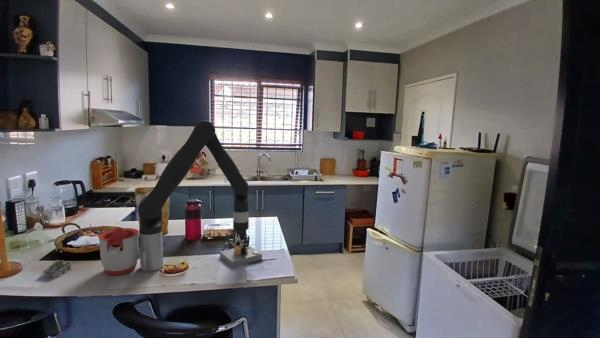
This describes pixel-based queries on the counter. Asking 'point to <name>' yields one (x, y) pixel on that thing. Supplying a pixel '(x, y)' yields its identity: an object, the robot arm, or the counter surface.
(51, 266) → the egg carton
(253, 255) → the socket plate
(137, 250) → the citrus juicer
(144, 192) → the pancake mix bag
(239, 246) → the plug
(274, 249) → the counter surface
